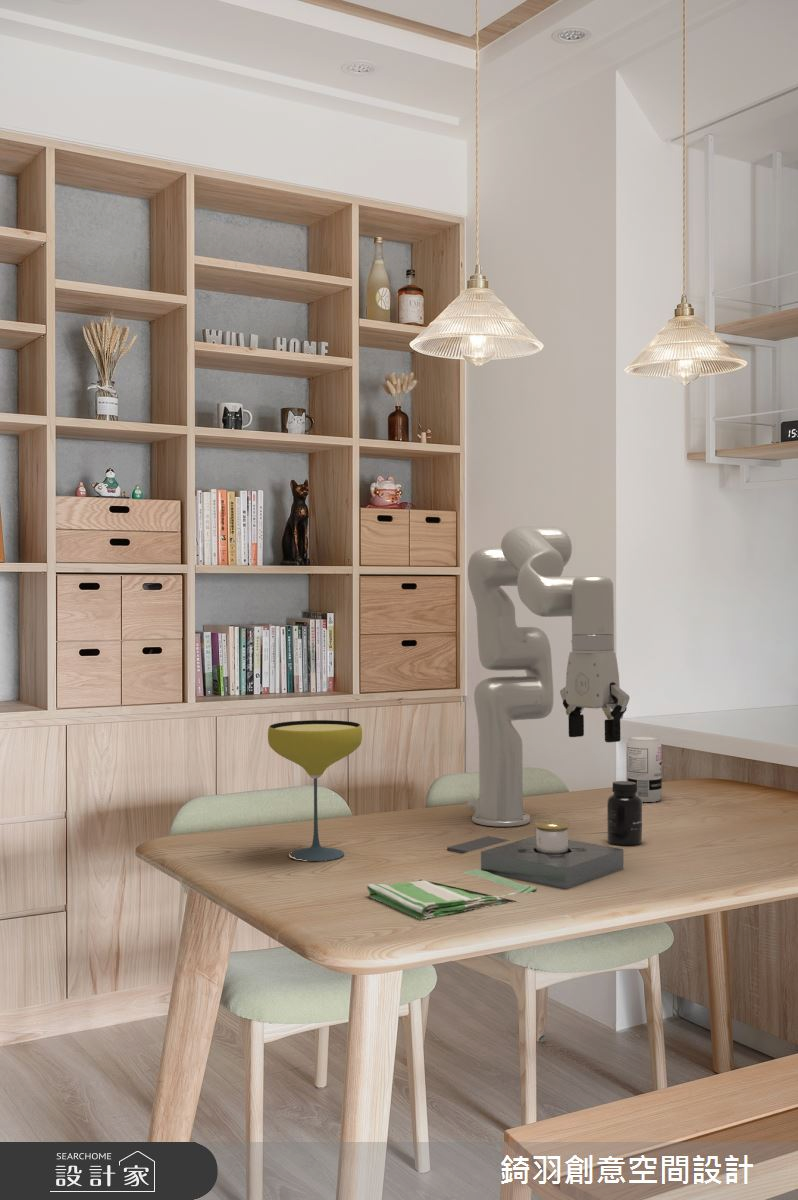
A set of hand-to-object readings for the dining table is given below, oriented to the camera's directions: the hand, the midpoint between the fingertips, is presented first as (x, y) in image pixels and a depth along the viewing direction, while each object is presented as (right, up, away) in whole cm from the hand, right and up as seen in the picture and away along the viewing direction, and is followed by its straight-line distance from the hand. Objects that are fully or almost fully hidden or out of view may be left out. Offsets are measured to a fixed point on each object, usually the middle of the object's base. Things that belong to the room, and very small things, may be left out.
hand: (594, 739), depth 202 cm
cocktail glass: (-51, -24, +13) cm, 58 cm away
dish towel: (-27, -25, -17) cm, 40 cm away
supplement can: (+24, -23, +66) cm, 74 cm away
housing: (-8, -24, -4) cm, 25 cm away
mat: (-17, -24, +16) cm, 33 cm away
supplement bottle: (+10, -24, +22) cm, 33 cm away
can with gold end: (-8, -23, -4) cm, 24 cm away
